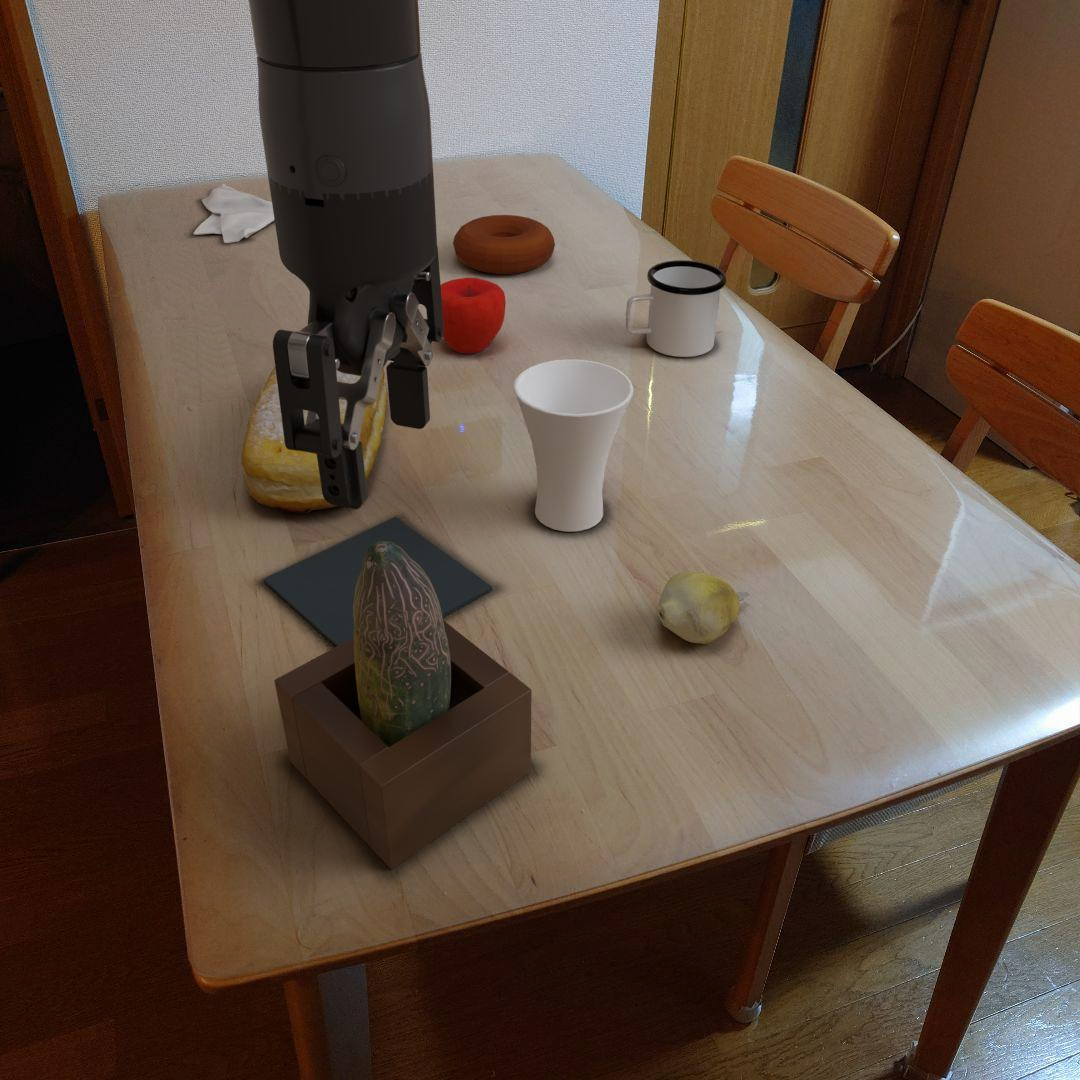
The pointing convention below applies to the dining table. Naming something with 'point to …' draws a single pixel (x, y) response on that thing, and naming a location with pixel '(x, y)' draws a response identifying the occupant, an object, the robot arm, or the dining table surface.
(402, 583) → the vegetable
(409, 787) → the holder
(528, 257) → the donut
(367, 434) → the bread
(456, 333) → the apple
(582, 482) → the cup
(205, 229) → the cloth
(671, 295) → the mug
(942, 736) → the dining table surface
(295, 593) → the mat
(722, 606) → the fruit
